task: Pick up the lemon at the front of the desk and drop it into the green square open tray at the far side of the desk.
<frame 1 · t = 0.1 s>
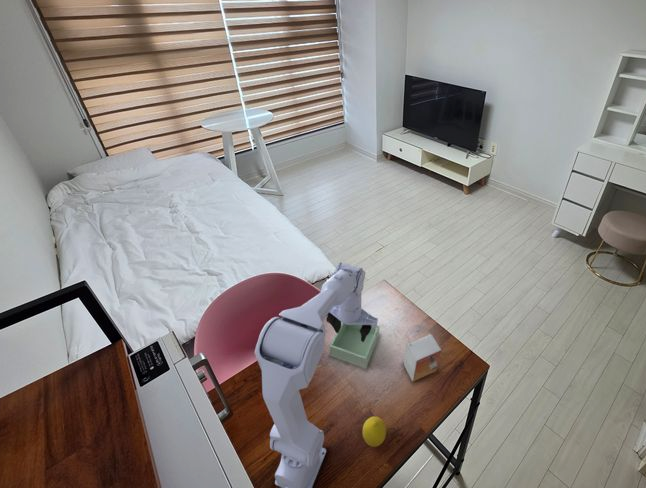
hand: (351, 334, 91), 10 cm above the table, tool pointing down, fingers open, 7 cm apart
white toy house: (419, 368, 94), on the table
lemon: (373, 438, 79), on the table
green square open tray: (355, 345, 99), on the table
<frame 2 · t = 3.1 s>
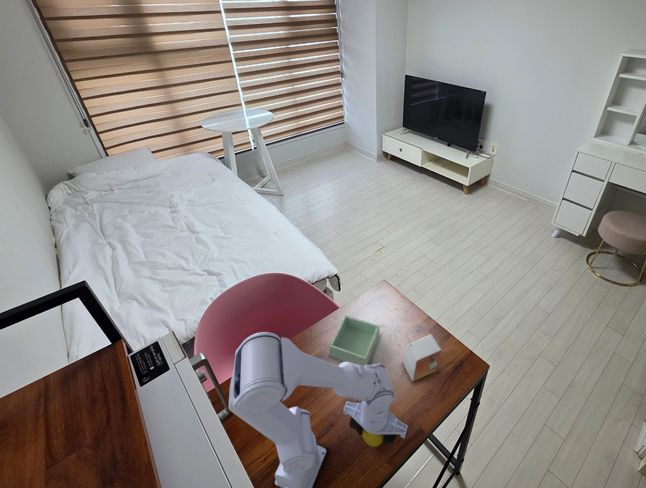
hand: (374, 435, 78), 2 cm above the table, tool pointing down, fingers closed on lemon, 5 cm apart
lemon: (373, 438, 79), on the table, touching gripper
everything else where it was.
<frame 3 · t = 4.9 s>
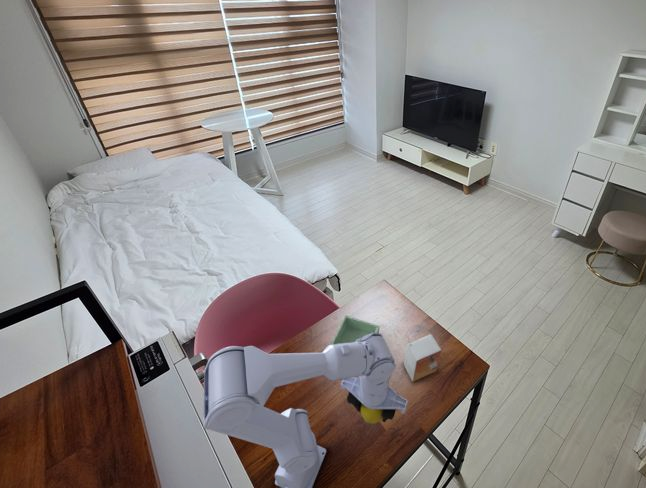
hand: (372, 412, 75), 10 cm above the table, tool pointing down, fingers closed on lemon, 5 cm apart
lemon: (372, 416, 76), point 8 cm above the table, touching gripper
everything else where it was.
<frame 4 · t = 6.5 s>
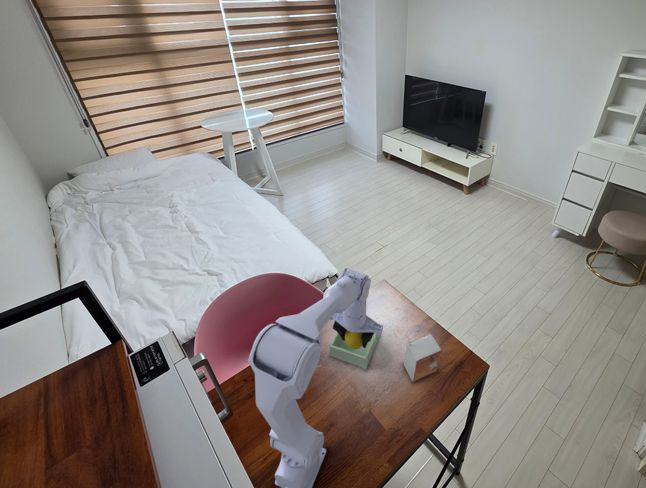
hand: (355, 341, 89), 10 cm above the table, tool pointing down, fingers closed on lemon, 5 cm apart
lemon: (355, 345, 90), point 8 cm above the table, touching gripper
everything else where it was.
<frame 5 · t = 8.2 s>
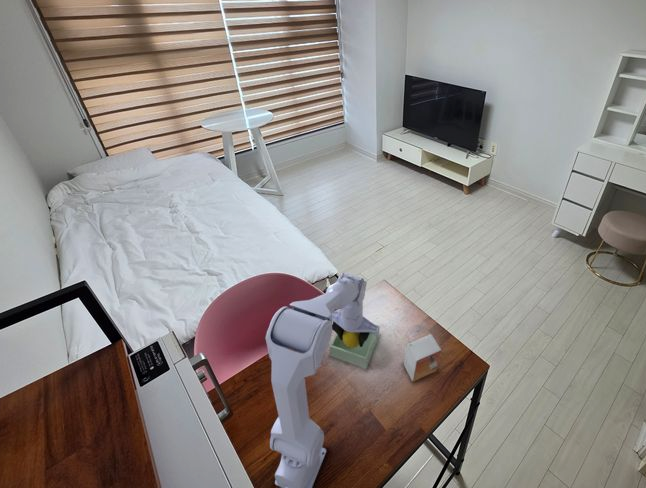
hand: (352, 340, 94), 5 cm above the table, tool pointing down, fingers closed on lemon, 5 cm apart
lemon: (352, 344, 96), point 3 cm above the table, touching gripper
everything else where it was.
when the fingers open (2 cm above the table, at t = 9.8 s): lemon stays where it is, resting on green square open tray.
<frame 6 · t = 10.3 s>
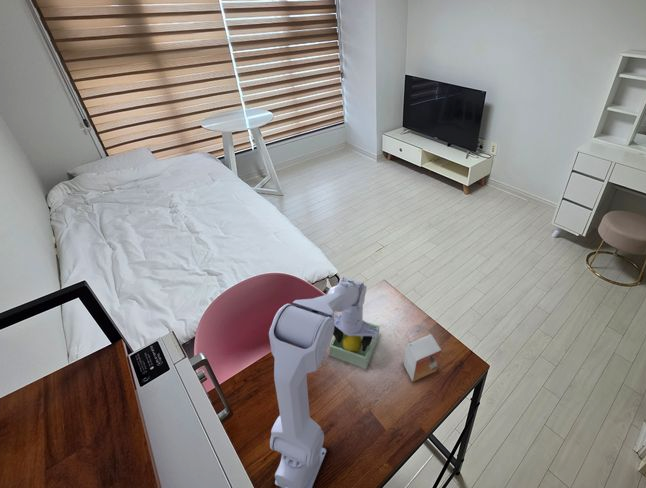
hand: (352, 344, 95), 4 cm above the table, tool pointing down, fingers open, 7 cm apart
lemon: (352, 350, 97), resting on green square open tray
everything else where it was.
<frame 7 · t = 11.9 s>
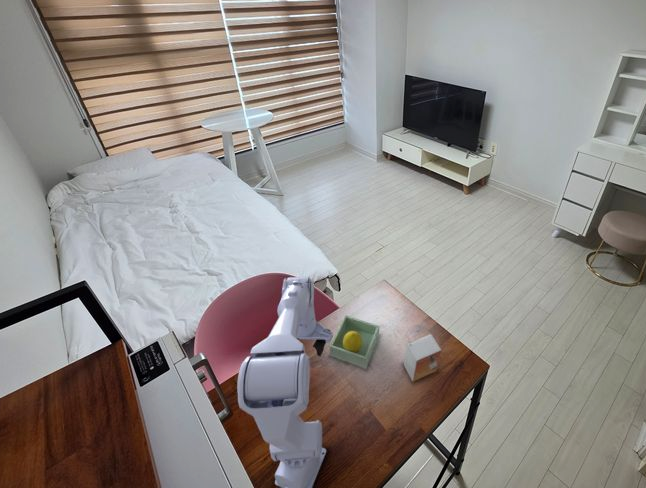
hand: (307, 347, 87), 10 cm above the table, tool pointing down, fingers open, 7 cm apart
nothing on the table moved.
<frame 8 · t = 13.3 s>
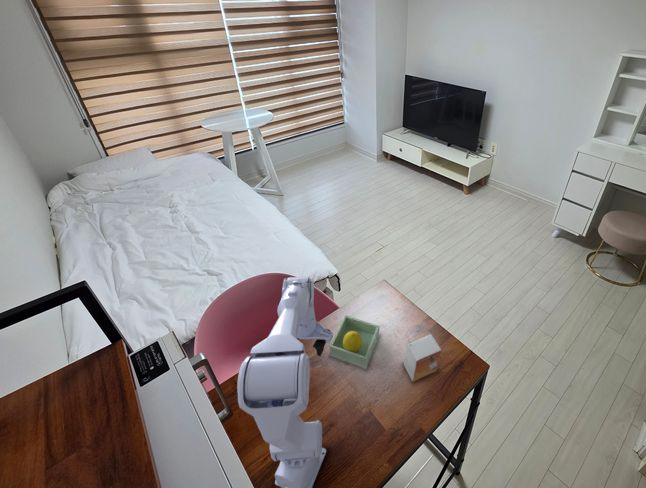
hand: (307, 347, 87), 10 cm above the table, tool pointing down, fingers open, 7 cm apart
nothing on the table moved.
at the end: lemon inside the target area in the green square open tray (2.0 cm from its centre), point 0.3 cm above the green square open tray's base; the gripper is holding nothing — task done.
